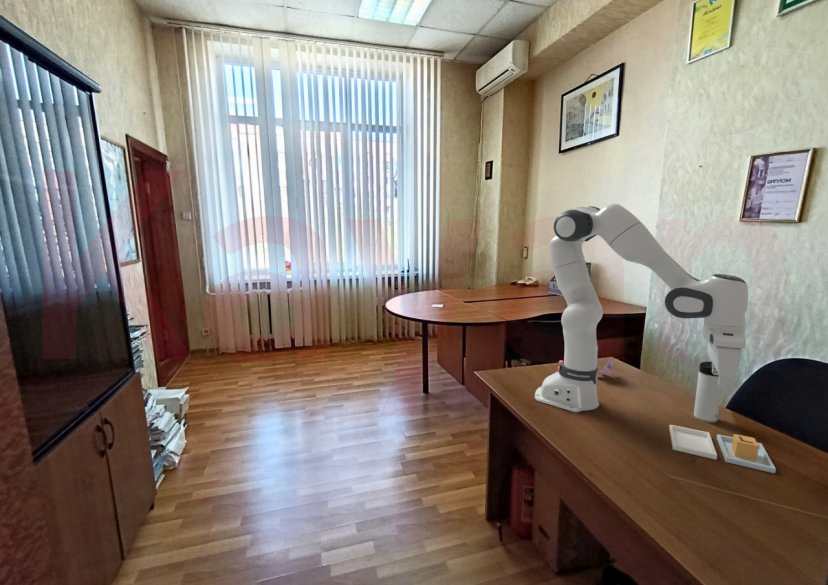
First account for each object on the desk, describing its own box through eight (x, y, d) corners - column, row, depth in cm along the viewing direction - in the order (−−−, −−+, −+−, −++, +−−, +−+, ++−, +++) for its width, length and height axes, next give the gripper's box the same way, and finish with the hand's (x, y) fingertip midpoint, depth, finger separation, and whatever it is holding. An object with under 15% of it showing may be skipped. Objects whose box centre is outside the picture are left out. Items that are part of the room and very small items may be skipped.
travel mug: (722, 425, 120) (730, 367, 116) (699, 423, 121) (706, 366, 118) (711, 415, 126) (718, 360, 122) (689, 414, 127) (696, 359, 124)
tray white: (672, 450, 107) (673, 445, 107) (669, 429, 118) (669, 424, 118) (716, 461, 102) (717, 455, 102) (708, 437, 113) (709, 432, 113)
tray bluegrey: (725, 463, 101) (726, 457, 101) (716, 439, 112) (717, 434, 112) (774, 474, 96) (775, 468, 96) (760, 448, 107) (761, 443, 107)
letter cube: (735, 456, 103) (737, 441, 102) (731, 448, 107) (733, 433, 106) (756, 461, 101) (758, 445, 100) (752, 452, 105) (754, 437, 104)
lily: (617, 376, 163) (606, 356, 164) (634, 376, 151) (623, 354, 153) (594, 387, 161) (584, 366, 163) (610, 387, 149) (599, 365, 151)
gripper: (703, 323, 112) (699, 366, 114) (715, 341, 95) (710, 392, 97) (730, 325, 109) (726, 369, 111) (747, 344, 91) (742, 396, 94)
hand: (719, 380), depth 104 cm, fingers open, 8 cm apart
